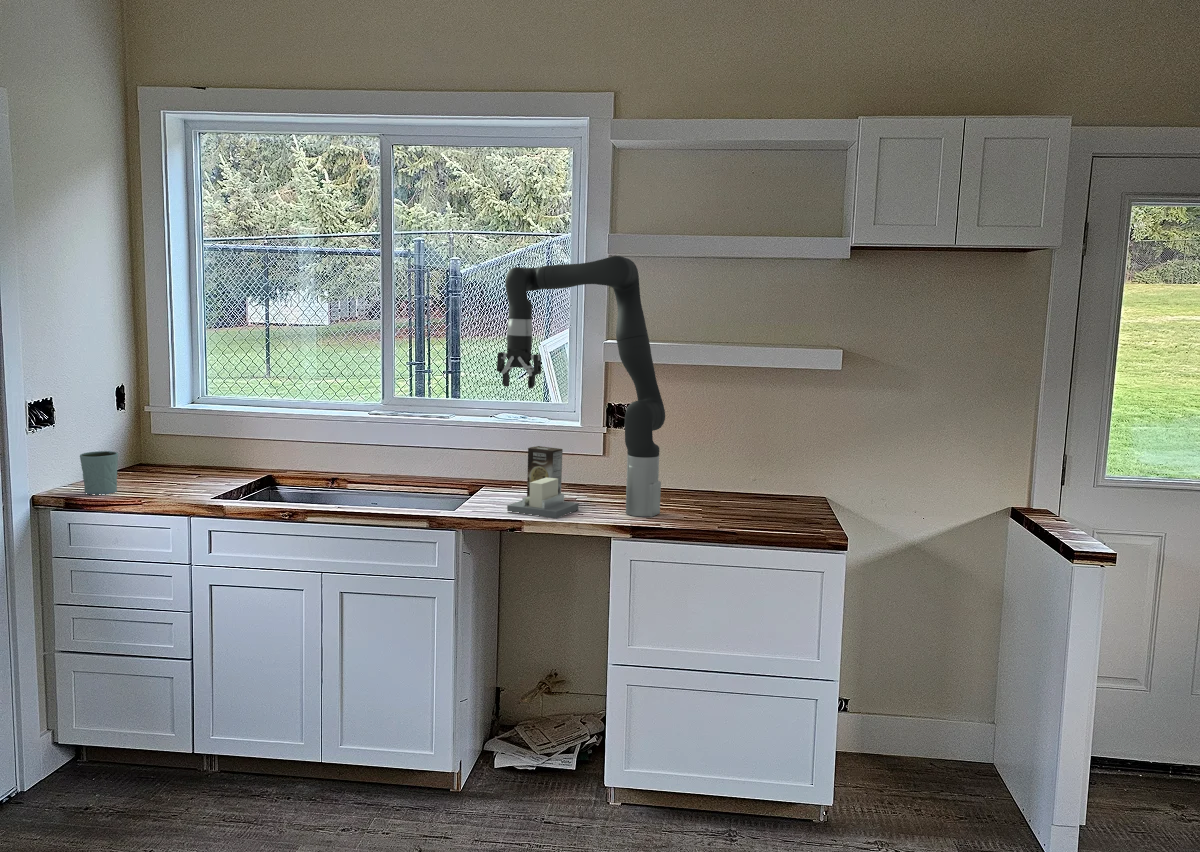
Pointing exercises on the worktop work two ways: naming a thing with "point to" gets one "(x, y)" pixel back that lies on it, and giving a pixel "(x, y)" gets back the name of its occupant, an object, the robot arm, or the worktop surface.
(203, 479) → the worktop surface
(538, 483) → the block
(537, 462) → the coffee box
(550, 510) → the book rack
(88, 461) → the green cup
